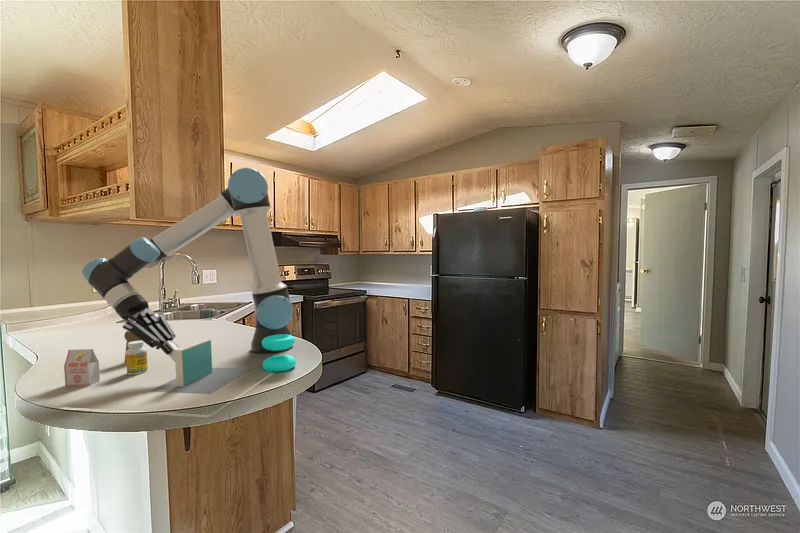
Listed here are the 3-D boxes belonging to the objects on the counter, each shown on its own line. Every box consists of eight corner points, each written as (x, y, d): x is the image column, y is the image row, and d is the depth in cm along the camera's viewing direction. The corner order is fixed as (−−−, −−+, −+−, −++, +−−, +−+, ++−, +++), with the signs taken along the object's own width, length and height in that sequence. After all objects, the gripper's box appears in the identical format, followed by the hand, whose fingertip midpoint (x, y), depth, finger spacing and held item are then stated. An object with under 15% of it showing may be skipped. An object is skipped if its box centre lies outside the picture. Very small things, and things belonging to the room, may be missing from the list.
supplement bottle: (136, 369, 119) (135, 339, 118) (152, 369, 118) (150, 339, 118) (122, 375, 113) (120, 344, 113) (138, 375, 113) (136, 344, 112)
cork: (134, 364, 124) (132, 331, 124) (119, 363, 125) (117, 331, 125) (150, 359, 130) (148, 328, 130) (135, 358, 131) (134, 327, 131)
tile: (176, 386, 102) (174, 350, 101) (205, 371, 114) (204, 339, 113) (184, 386, 101) (182, 350, 101) (212, 372, 113) (211, 339, 113)
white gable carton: (76, 381, 108) (74, 348, 108) (99, 381, 108) (97, 347, 108) (65, 386, 105) (63, 351, 104) (89, 386, 105) (87, 351, 104)
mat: (148, 392, 99) (148, 391, 99) (200, 368, 118) (200, 367, 118) (210, 395, 96) (210, 393, 96) (252, 370, 116) (252, 368, 116)
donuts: (255, 340, 113) (271, 333, 123) (256, 372, 113) (272, 362, 123) (286, 341, 111) (300, 333, 121) (287, 373, 112) (301, 363, 122)
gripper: (139, 307, 116) (189, 361, 114) (99, 315, 103) (155, 376, 101) (153, 290, 115) (204, 345, 113) (114, 296, 102) (171, 357, 100)
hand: (181, 359), depth 107 cm, fingers closed
